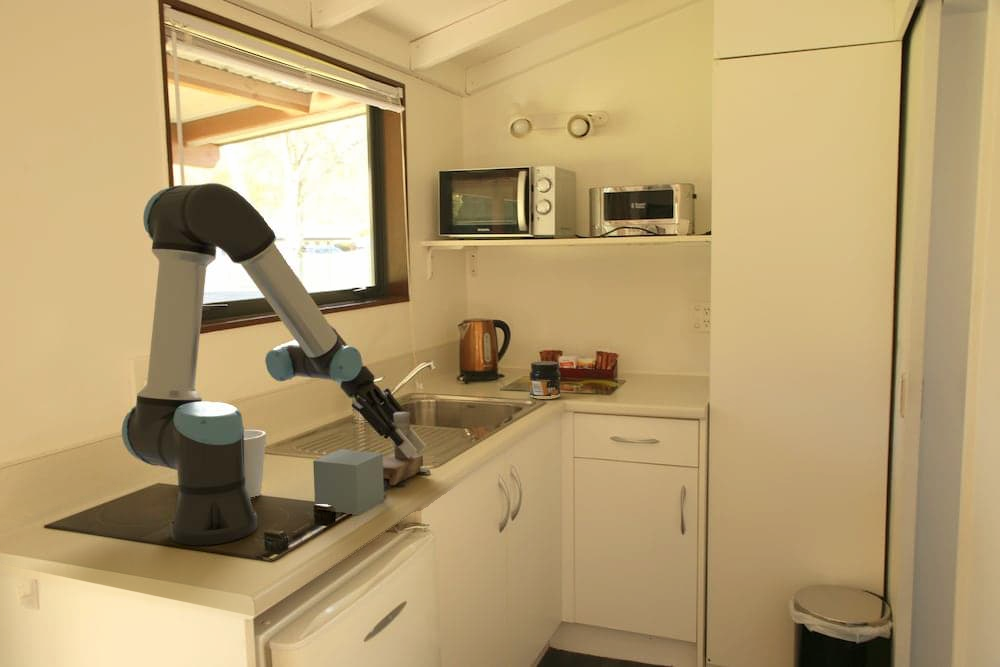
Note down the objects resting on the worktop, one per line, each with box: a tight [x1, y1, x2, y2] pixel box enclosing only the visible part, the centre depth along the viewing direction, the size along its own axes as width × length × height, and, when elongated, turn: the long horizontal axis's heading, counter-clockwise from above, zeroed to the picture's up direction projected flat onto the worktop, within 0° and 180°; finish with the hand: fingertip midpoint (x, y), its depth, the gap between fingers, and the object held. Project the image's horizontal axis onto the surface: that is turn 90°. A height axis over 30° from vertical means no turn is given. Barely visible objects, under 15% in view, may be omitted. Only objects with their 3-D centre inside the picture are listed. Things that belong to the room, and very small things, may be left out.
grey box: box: [312, 448, 385, 516], centre depth 164 cm, size 10×10×10 cm
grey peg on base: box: [383, 411, 424, 485], centre depth 180 cm, size 12×7×14 cm, turn 157°
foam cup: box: [244, 429, 267, 498], centre depth 172 cm, size 10×9×13 cm
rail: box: [383, 468, 431, 499], centre depth 179 cm, size 22×8×2 cm, turn 157°
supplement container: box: [528, 360, 561, 396], centre depth 277 cm, size 10×10×12 cm
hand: (417, 452), depth 181 cm, fingers closed on grey peg on base, 4 cm apart
